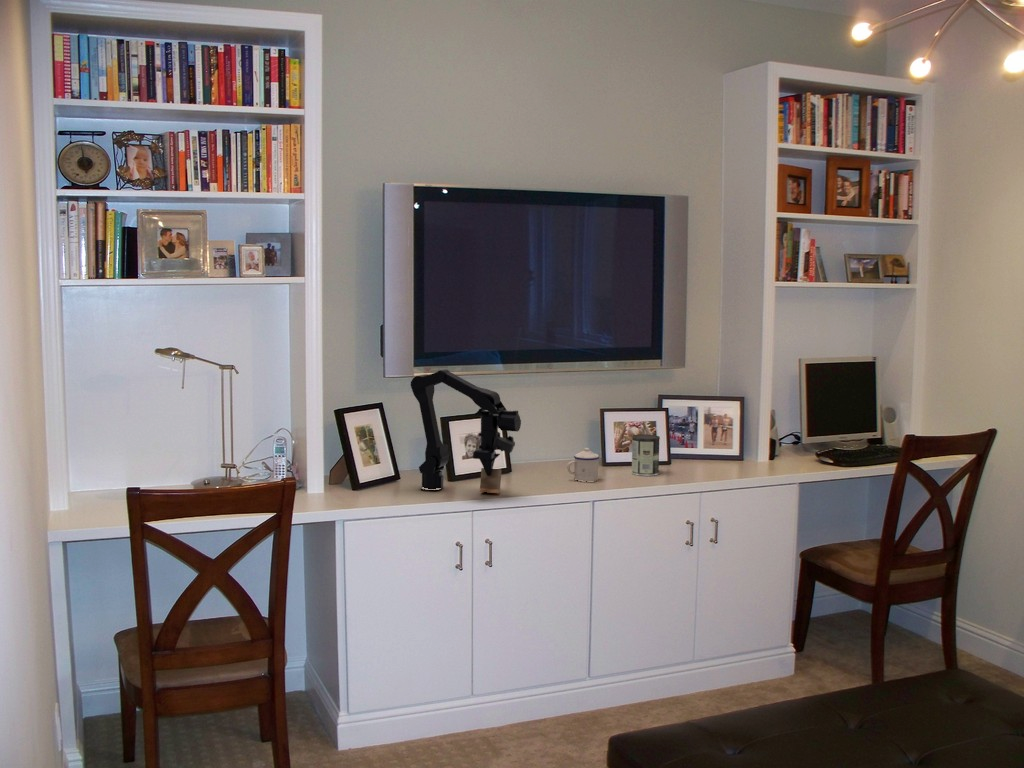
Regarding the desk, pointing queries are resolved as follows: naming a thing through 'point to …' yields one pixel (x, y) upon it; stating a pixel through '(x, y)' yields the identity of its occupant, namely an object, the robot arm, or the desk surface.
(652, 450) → the coffee can
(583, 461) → the teacup with lid
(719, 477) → the desk surface
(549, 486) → the desk surface
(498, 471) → the tall walnut block
